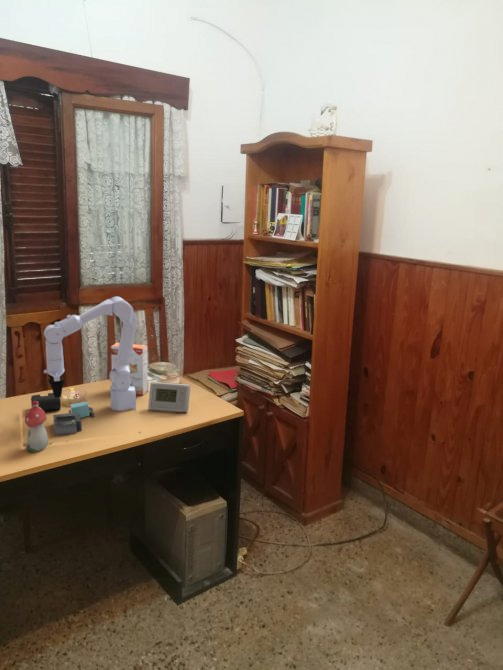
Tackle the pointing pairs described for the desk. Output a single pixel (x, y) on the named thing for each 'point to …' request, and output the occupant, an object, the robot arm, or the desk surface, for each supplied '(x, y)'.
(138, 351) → the cracker box
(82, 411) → the teal rectangular block
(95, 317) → the robot arm
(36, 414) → the decorative ornament
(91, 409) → the holster
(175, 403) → the digital clock
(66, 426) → the port block
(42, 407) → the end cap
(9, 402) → the desk surface
